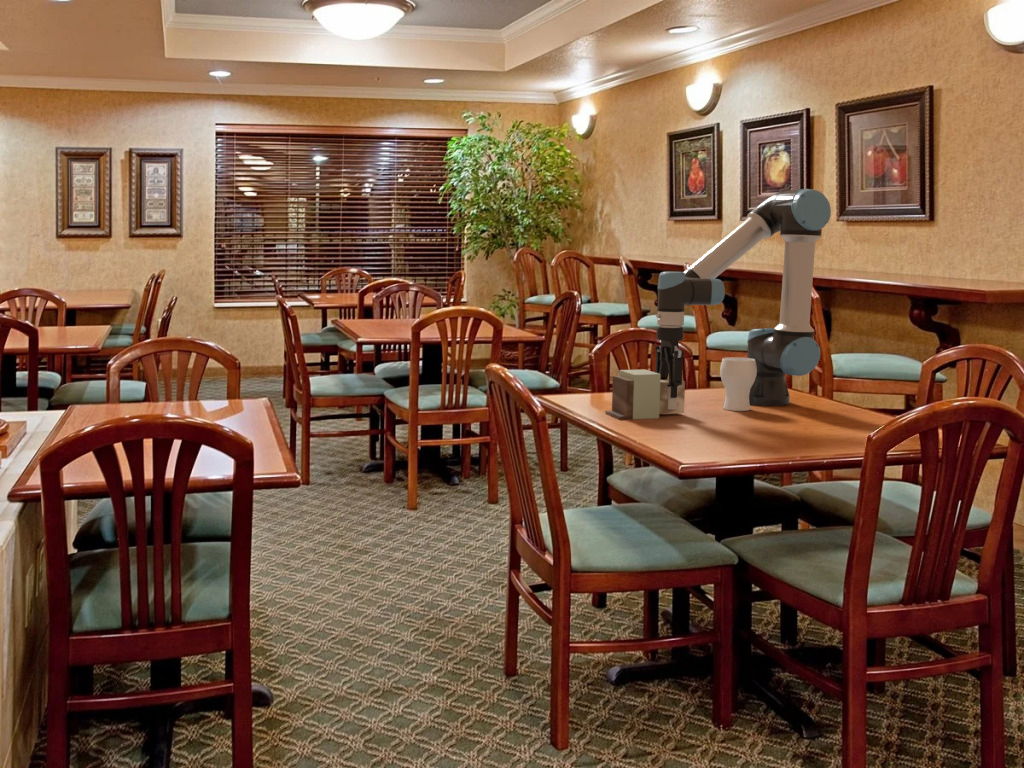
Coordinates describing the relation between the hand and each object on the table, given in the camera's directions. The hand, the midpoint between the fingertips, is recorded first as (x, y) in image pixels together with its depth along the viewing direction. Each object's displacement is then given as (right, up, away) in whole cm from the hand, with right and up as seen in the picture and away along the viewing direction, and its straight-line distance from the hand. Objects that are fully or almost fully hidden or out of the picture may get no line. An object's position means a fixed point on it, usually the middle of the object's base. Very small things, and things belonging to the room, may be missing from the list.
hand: (667, 407), depth 304 cm
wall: (-13, -3, -4) cm, 14 cm away
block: (-9, -2, -2) cm, 9 cm away
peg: (-3, -1, -1) cm, 3 cm away
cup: (+22, -1, +12) cm, 25 cm away
